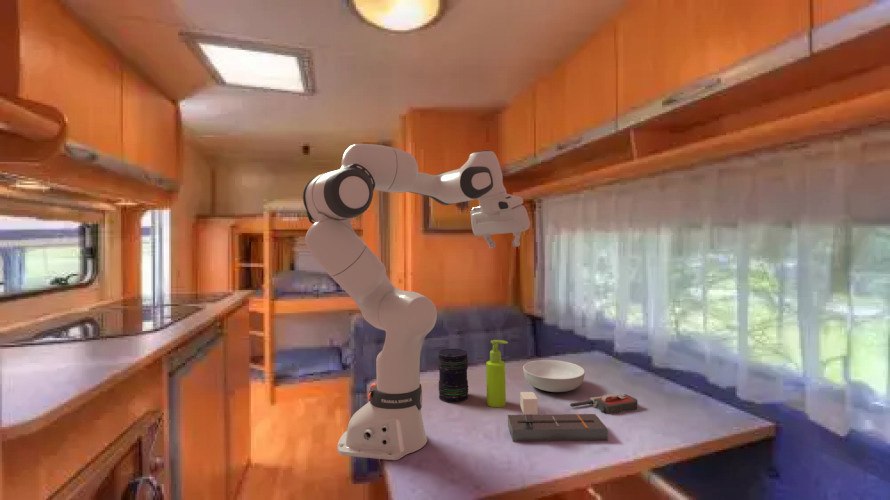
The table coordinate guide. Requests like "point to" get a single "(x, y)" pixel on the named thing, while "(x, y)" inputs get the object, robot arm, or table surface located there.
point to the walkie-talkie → (611, 403)
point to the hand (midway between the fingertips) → (504, 246)
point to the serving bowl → (554, 375)
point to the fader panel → (557, 428)
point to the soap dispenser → (496, 377)
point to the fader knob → (528, 405)
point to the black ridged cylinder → (453, 375)
